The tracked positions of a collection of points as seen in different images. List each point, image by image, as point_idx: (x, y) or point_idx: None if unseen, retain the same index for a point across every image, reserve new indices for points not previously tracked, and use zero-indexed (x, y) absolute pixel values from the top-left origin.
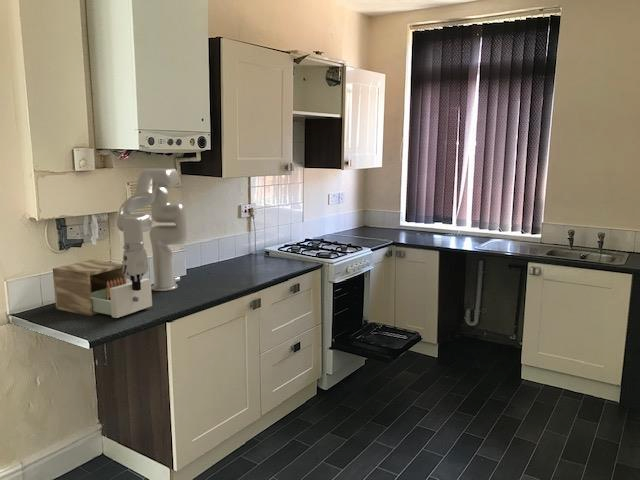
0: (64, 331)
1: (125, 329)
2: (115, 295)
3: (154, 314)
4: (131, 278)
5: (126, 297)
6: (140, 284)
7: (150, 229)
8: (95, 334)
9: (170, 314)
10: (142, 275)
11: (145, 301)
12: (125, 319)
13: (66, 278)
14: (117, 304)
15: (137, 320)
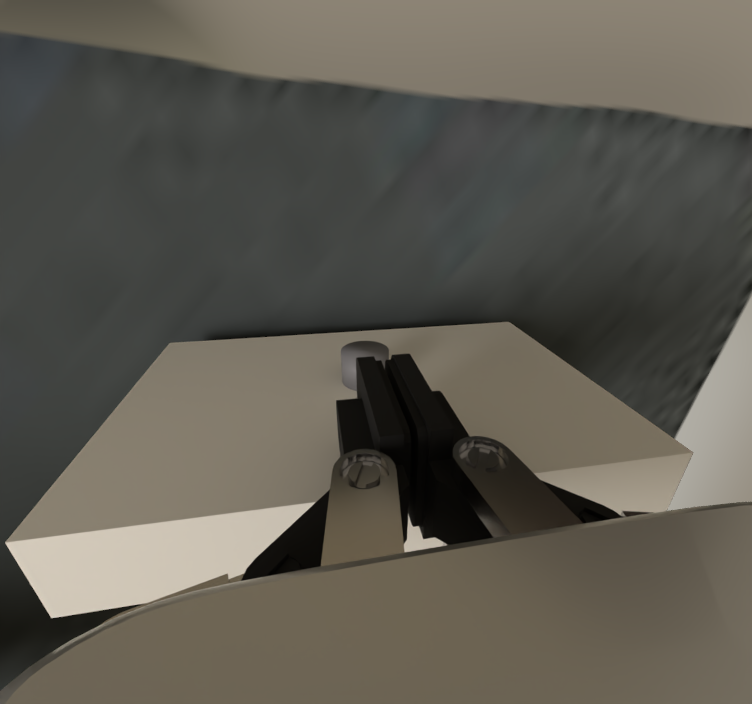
0: (690, 400)
1: (616, 124)
2: (630, 408)
3: (260, 206)
4: (605, 508)
5: (470, 390)
6: (371, 394)
7: None
8: (721, 229)
9: (165, 58)
10: (274, 555)
11: (232, 362)
12: (448, 302)
13: None
14: (551, 363)
15: (432, 210)
